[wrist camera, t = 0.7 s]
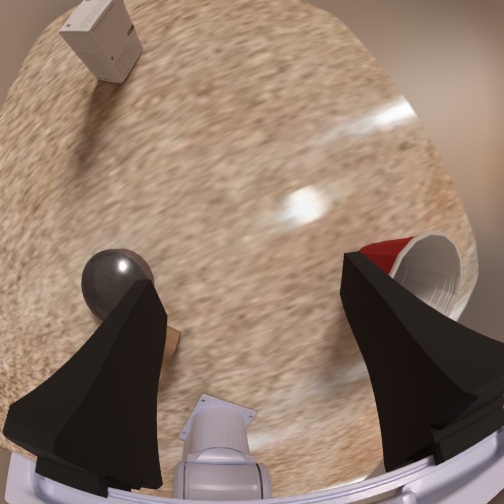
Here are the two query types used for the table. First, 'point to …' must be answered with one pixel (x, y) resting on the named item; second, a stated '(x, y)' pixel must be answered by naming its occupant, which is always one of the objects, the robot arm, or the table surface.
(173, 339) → the walnut block
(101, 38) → the skincare box
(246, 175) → the table surface
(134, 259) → the grey metal cylinder
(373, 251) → the plastic cup
